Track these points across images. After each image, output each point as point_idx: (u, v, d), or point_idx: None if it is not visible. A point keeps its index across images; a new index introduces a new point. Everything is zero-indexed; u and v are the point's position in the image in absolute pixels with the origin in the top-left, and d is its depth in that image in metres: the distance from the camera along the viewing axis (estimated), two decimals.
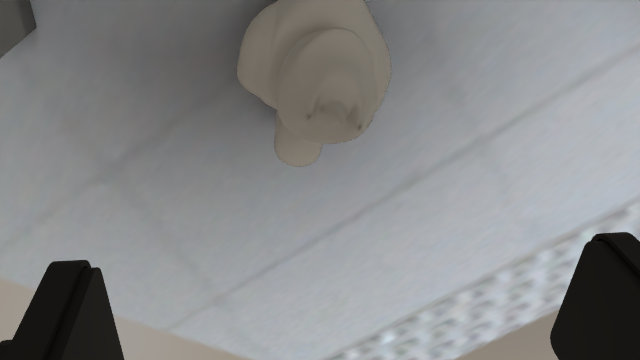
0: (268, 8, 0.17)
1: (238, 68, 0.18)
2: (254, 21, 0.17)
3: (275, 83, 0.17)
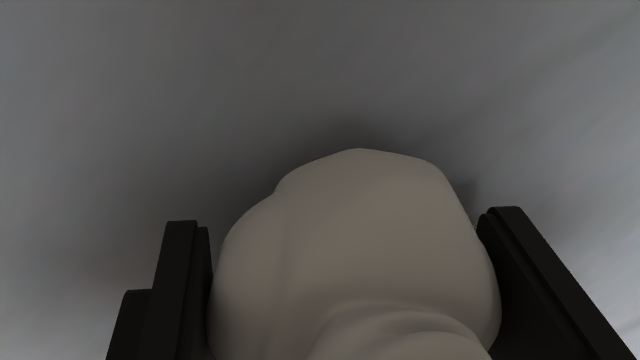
0: (265, 220, 0.08)
1: (206, 326, 0.09)
2: (237, 243, 0.09)
3: None
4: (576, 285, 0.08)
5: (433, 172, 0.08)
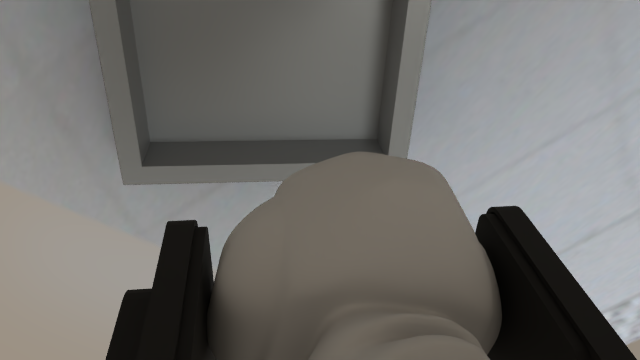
0: (267, 223, 0.08)
1: (208, 328, 0.09)
2: (238, 246, 0.09)
3: None
4: (576, 285, 0.08)
5: (434, 175, 0.08)
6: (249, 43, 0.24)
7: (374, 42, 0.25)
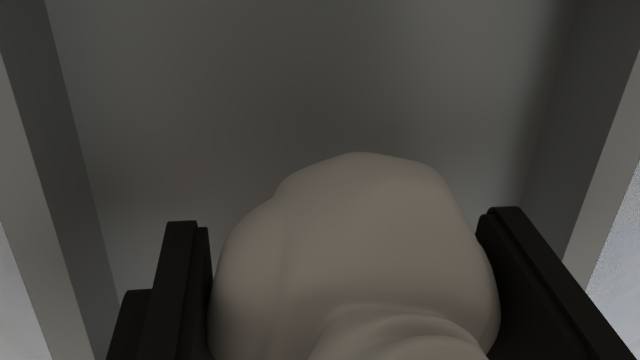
0: (265, 223, 0.08)
1: (207, 328, 0.09)
2: (237, 246, 0.09)
3: None
4: (576, 285, 0.08)
5: (433, 175, 0.08)
6: None
7: (500, 191, 0.15)
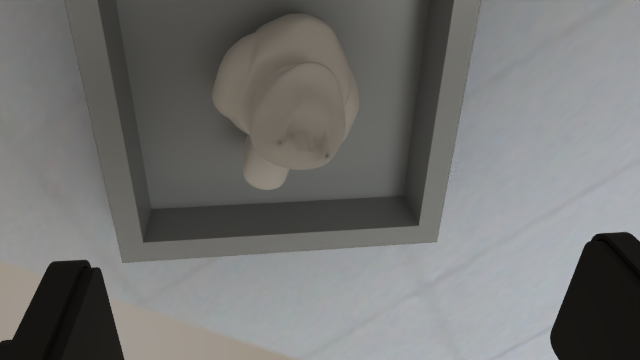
0: (247, 38, 0.18)
1: (213, 91, 0.18)
2: (233, 48, 0.18)
3: (248, 108, 0.18)
4: None
5: (327, 23, 0.18)
6: None
7: (401, 94, 0.22)
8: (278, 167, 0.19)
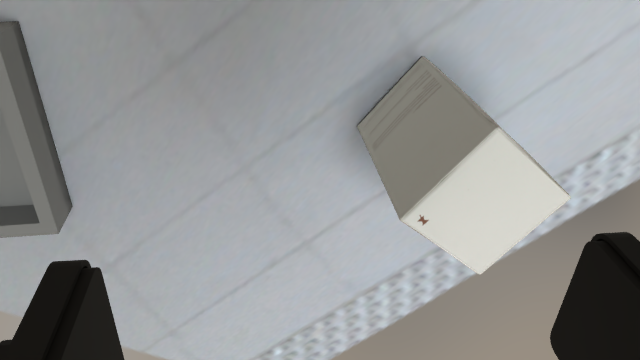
0: None
1: None
2: None
3: None
4: None
5: None
6: None
7: None
8: None
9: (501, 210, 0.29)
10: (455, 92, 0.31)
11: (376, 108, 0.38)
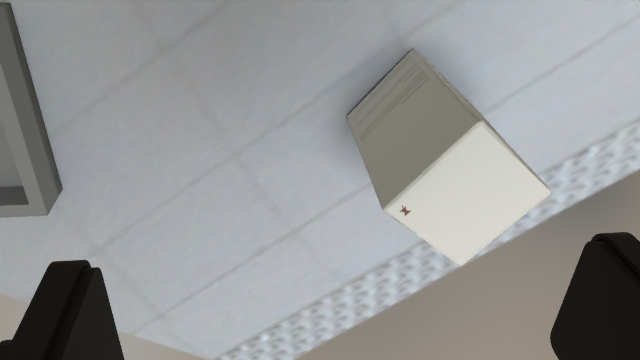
0: None
1: None
2: None
3: None
4: None
5: None
6: None
7: None
8: None
9: (482, 203, 0.29)
10: (441, 85, 0.31)
11: (365, 99, 0.38)
